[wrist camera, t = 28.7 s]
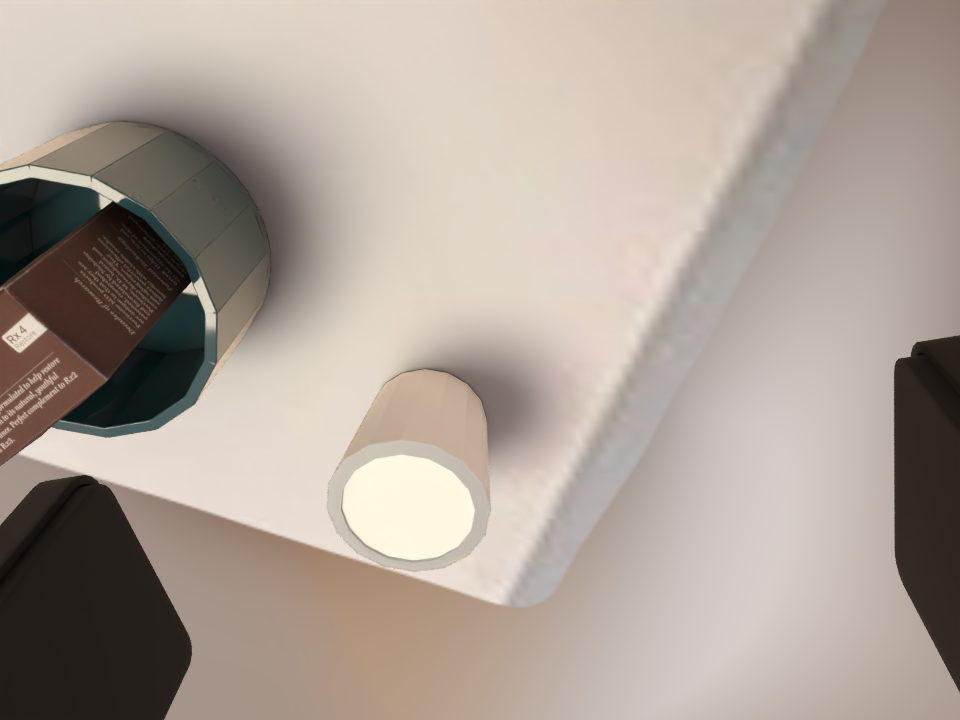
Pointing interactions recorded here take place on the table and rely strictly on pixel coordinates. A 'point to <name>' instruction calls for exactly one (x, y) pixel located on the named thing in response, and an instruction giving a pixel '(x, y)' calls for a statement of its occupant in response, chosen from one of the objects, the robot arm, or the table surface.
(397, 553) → the cream cylinder
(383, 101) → the table surface
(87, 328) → the box
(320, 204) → the table surface
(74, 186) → the teal round container
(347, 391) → the table surface
